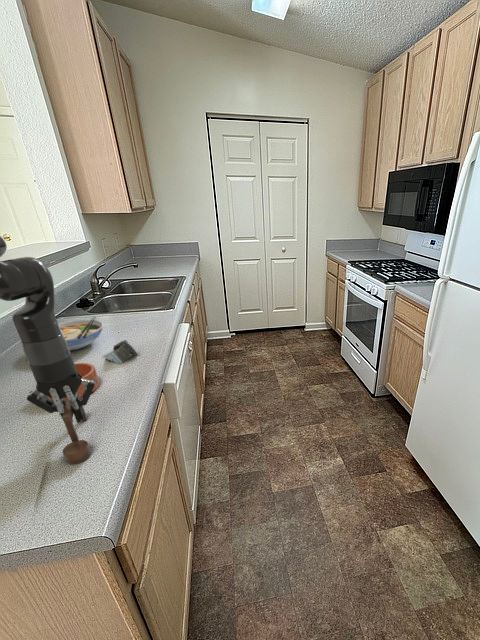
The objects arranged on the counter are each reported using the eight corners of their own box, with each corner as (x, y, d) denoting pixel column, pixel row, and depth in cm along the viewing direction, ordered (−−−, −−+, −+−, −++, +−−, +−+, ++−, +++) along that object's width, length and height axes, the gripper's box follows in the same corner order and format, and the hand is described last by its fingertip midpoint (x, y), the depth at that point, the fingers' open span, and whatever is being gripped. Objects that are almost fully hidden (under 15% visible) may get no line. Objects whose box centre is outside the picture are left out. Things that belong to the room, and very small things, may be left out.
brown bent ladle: (90, 460, 74) (76, 423, 69) (65, 467, 72) (49, 430, 67) (95, 416, 89) (83, 383, 84) (74, 421, 87) (61, 388, 82)
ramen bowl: (52, 339, 138) (45, 320, 134) (113, 332, 144) (108, 314, 140) (29, 365, 116) (20, 344, 113) (101, 355, 122) (95, 335, 119)
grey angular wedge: (98, 360, 120) (100, 345, 111) (113, 347, 125) (116, 332, 116) (120, 376, 122) (124, 363, 113) (134, 364, 126) (139, 350, 117)
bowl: (43, 408, 92) (35, 389, 90) (51, 385, 103) (44, 368, 101) (99, 395, 98) (92, 378, 95) (100, 375, 109) (95, 359, 106)
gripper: (87, 343, 76) (108, 406, 84) (14, 355, 71) (43, 421, 79) (84, 356, 70) (107, 422, 78) (4, 370, 65) (37, 440, 72)
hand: (75, 421), depth 78 cm, fingers closed on brown bent ladle, 1 cm apart
